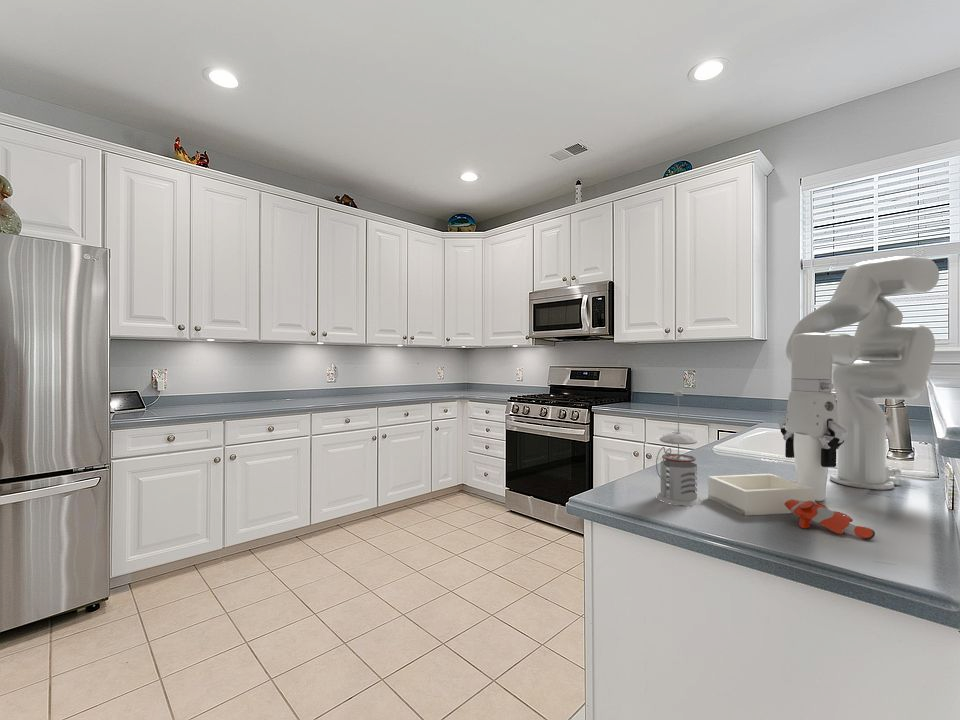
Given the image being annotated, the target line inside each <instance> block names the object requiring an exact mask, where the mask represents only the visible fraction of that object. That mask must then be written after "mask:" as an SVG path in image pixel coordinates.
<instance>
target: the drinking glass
mask: <svg viewBox="0 0 960 720" xmlns="http://www.w3.org/2000/svg"><path fill="white" fill-rule="evenodd" d="M827 441H828V442H829V440H827ZM793 447H794V458H793V459H794V470H795V479H796V482H797V483H800V484H804V485H807V486H810V487H813V488H814V502H823V501H825V500H826V497H827V481H828V473H829V467H822V466H821V448H824V446H823V445H822V443H821V442H820V440H819V438H812V437H810V436H809V435H804V434H798V433H795V432H794V441H793Z"/></svg>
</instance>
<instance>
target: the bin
mask: <svg viewBox="0 0 960 720" xmlns="http://www.w3.org/2000/svg"><path fill="white" fill-rule="evenodd" d="M707 478H708V479H707V484H708V485H707V495H708V499H710V500H712V501H714V502H716V503H717V504H720V505H722V506H724V507H726V508H728V509H730V510H732V511H734V512H736V513H738V514H740V515H743V516H745V517H747V516H749V517H750V516H764V515H765V516H767V515H782V514H793V513H792V512H791V511H790V510H789V509H788V508H787V507H786V506H785V504H784V503H785V502H786V501H788V500H791V499H793V500H799V501H813V502H814V503H815V501H814V488H813V487H810V486H807V485H804V484H800V483H797V481H794V480H791V479H787V478H784V477H782V476H779V475H776V474H772V473H754V474H753V473H751V474H734V475H733V474H731V475H730V474H729V475H710V476H708V477H707Z"/></svg>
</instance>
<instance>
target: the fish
mask: <svg viewBox="0 0 960 720" xmlns="http://www.w3.org/2000/svg"><path fill="white" fill-rule="evenodd" d="M784 504H785V506H786V507H787V508H788V509H789V510H790V511H791V512H792V513H791V514H794V515H795V516H797V517H798V527H800V528H801V529H806V530H808V529H810V528H811V526H812V525H813V523H816V524H818V525H821V526H824V528H825V529H827V530H828V531H829V532H832V533H833V534H836V535H839V536H840V535H845V534H846V532H845V531H848V532H851V533H853V534H854V535H855V536H857V537H859V538H860V539H863V540H867V541H868V540H869V541H870V540H872V539H874V537H875V535H876V532H875V530H874V529H871V528H870V527H867V526H861V525H857V524H853V523H851V522H853V521H854V520H853V518H852V517H850V516H849V515H848V514H845V513H843V512H840V511H834V510H831V509H830V508H829V507H827V506H826V505H825V504H823V503H822V502H820V501H814V502H813V501H799V500H793V499H791V500H788V501H786V502H785V503H784Z"/></svg>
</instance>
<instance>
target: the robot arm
mask: <svg viewBox="0 0 960 720" xmlns="http://www.w3.org/2000/svg"><path fill="white" fill-rule="evenodd" d="M939 279H940V271H939V268H938V265H937V264H936V263H935V262H934V261H933V260H932V259H930V258H926V257H918V256H909V255H908V256H907V255H906V256H905V255H903V256H892V257H887V258H880V259H872V260H867V261H861V262H856V263H855V264H852V265H851V266H849V267H848V268H847V269H846V270H845V272H844V274H843V275H842V278H841V279H840V281H839V283H838V284H837V287H836V289H835V292H834V293H833V295H832V297H831V298H830V301H828V302H827V303H825V304H823V305H821V306H820V307H818V308H816V309H815V310H813V311H811V312H810V313H809V314H807V315H805V316H804V317H802V319H800V320H799V322H797V324H796V325H795V326H794V328H793V330H792V332H791V334H790V336H789V339H788V340H787V343H786V348H785V354H786V357H787V359H788V361H789V362H791V372H790V373H791V375H790V377H791V381H790V383H791V384H790V391H789V393H788V394H789V395H788V398H787V399H788V400H787V405H786V416H785V417H783V418H781V419H779V420H778V422H777V423H778V426H779V428H780V433H781V434H782V436H783V437H782V438H783V440H784V441H785V448H784V449H785V457H786V458H787V459H794V447H793V441H794V432H795V433H798V434H804V435H809V436H810V437H812V438H819V440H820V442H821V443H822V445H823V446H824V448H821V466H822V467H828V468H836V466H837V472H832V473H831V474H829V479H830V480H831V481H832V482H833V483H836V484H840V485H843V486H848V487H852V488H859V489H865V490H866V489H867V490H891V489H894V488H895V483H894V482H893V481H892V480H890V477H891V476H892V477H897V476H901V474H902V471H901V469H900V468H898V467H891V468H890V467H889V466H886V461H887V460H886V459H887V457H886V456H887V455H886V454H887V451H886V449H887V447H886V446H887V443H886V441H887V439H886V438H887V433H886V432H887V430H886V429H887V427H886V425H887V419H886V414H885V412H884V410H883V409H882V407H881V406H880V404H878V403H877V401H876V400H875V399H885V400H886V399H887V400H903V401H904V400H914V399H917V398H919V397H920V396H921V394H922V393H923V391H924V389H925V386H926V383H927V379H928V375H929V373H930V369H931V366H932V365H931V364H932V362H933V357H934V355H935V349H936V342H935V340H936V339H935V337H934V336H935V335H934V334H933V331H932V330H931V329H930V328H929V327H927V326H925V325H922V324H902V322H903V319H904V315H903V313H902V310H900V309H899V308H898V306H896V305H895V304H894V303H892V302H891V301H889V300H888V299H887V298H886V296H887V297H888V296H898V295H908V294H920V293H927V292H930V291H931V290H933V289H934V288H935V287H936V286H937V284H938V282H939ZM857 323H858V325H857V328H856V329H855V334H854V335H850V334H846V333H829V332H832V331H834V330H838V329H841V328H842V329H843V328H846V327H848V326H851V325H854V324H857ZM833 367H834V369H833ZM832 380H833V382H832ZM833 389H834V391H835V394H832V390H833ZM827 440H829V442H828V441H827Z"/></svg>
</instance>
